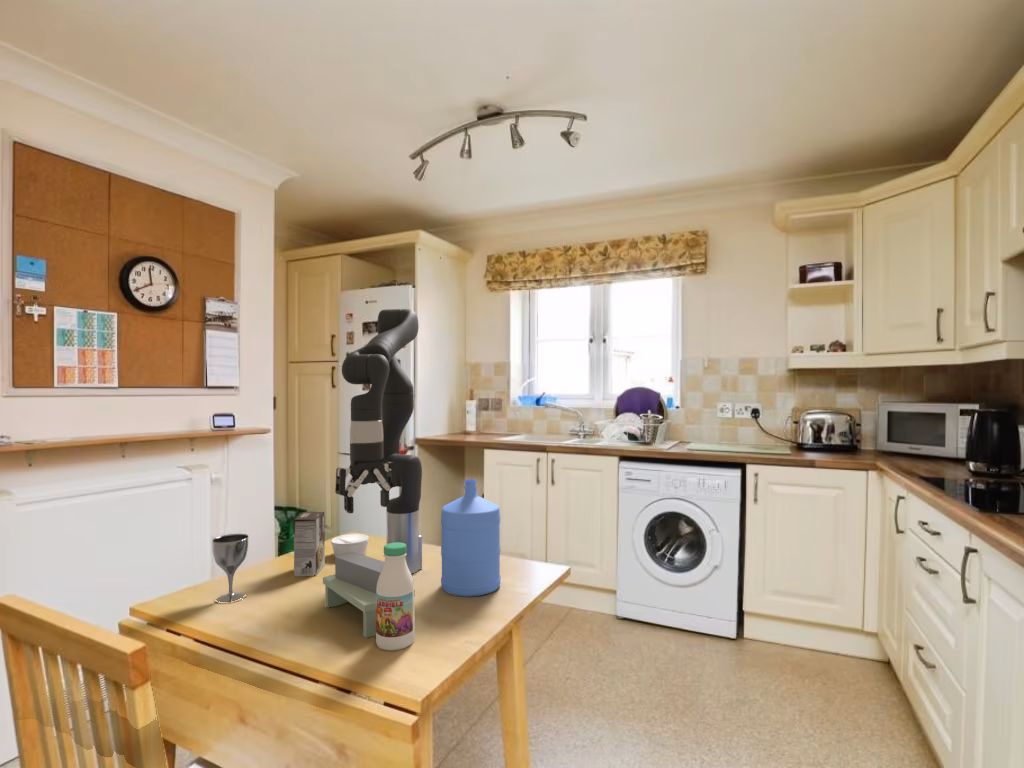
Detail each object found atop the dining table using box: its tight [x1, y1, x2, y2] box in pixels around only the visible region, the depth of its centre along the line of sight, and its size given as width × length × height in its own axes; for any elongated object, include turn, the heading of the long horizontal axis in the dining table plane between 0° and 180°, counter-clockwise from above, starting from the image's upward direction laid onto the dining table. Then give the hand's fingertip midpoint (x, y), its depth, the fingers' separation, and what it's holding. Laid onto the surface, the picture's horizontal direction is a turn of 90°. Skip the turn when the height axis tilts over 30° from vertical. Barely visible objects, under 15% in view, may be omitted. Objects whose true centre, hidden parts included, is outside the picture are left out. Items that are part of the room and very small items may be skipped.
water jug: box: [440, 478, 502, 598], centre depth 136 cm, size 16×16×28 cm
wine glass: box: [211, 533, 249, 602], centre depth 129 cm, size 8×8×15 cm
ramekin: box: [330, 533, 370, 557], centre depth 162 cm, size 11×11×5 cm
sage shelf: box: [322, 573, 416, 639], centre depth 119 cm, size 12×22×7 cm, turn 42°
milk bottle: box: [375, 542, 415, 652], centre depth 106 cm, size 8×8×20 cm
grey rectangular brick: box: [334, 552, 385, 594], centre depth 119 cm, size 5×18×5 cm, turn 52°
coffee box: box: [293, 511, 326, 577], centre depth 148 cm, size 9×6×16 cm
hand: (367, 509), depth 119 cm, fingers open, 8 cm apart
